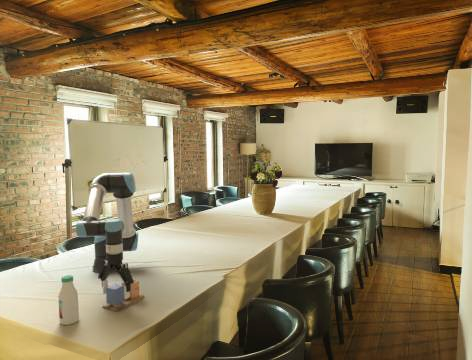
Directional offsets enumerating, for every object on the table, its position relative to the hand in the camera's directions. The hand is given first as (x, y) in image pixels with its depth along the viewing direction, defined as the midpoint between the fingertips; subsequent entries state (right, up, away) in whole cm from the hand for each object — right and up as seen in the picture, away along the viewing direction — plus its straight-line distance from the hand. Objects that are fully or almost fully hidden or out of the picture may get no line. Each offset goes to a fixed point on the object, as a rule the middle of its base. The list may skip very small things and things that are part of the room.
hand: (116, 295), depth 170 cm
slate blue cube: (0, -3, +1) cm, 3 cm away
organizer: (+2, -5, +5) cm, 7 cm away
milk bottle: (-16, -7, -14) cm, 22 cm away
